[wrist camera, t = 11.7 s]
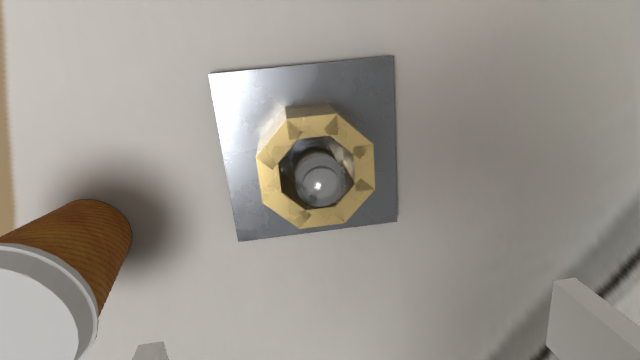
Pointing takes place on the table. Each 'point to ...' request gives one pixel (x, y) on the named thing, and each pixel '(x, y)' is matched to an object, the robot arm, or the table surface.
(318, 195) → the metal peg stand
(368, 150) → the ring
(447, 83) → the table surface
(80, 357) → the disposable coffee cup
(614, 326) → the robot arm
